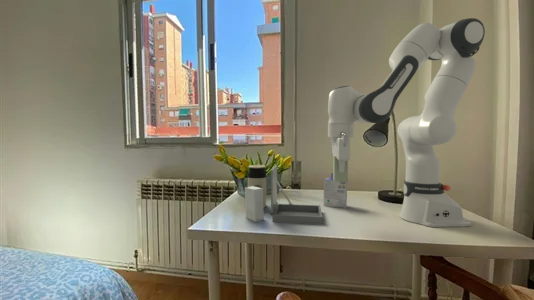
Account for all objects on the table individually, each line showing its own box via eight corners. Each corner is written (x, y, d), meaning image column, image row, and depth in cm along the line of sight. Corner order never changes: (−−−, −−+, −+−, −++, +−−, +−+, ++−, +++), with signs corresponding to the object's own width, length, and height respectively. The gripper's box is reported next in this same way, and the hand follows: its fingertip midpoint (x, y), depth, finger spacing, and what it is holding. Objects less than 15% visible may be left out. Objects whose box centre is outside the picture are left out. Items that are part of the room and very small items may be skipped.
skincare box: (264, 220, 101) (264, 188, 100) (254, 223, 98) (254, 189, 97) (253, 216, 105) (253, 185, 105) (244, 219, 102) (244, 187, 102)
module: (345, 179, 101) (345, 153, 100) (347, 181, 96) (347, 154, 96) (333, 179, 101) (333, 153, 101) (334, 181, 97) (334, 154, 96)
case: (319, 212, 112) (320, 165, 111) (322, 225, 96) (323, 171, 94) (275, 210, 114) (275, 165, 113) (270, 223, 98) (271, 170, 97)
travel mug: (250, 204, 124) (250, 164, 123) (267, 204, 123) (267, 165, 122) (245, 208, 117) (245, 166, 115) (264, 209, 115) (264, 167, 114)
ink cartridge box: (346, 205, 123) (347, 173, 122) (346, 208, 117) (347, 175, 116) (323, 203, 125) (324, 172, 124) (323, 207, 120) (323, 174, 119)
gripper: (355, 132, 87) (354, 175, 88) (345, 132, 107) (345, 167, 108) (334, 132, 88) (334, 175, 89) (329, 132, 108) (328, 167, 109)
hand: (340, 170), depth 99 cm, fingers closed on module, 4 cm apart
